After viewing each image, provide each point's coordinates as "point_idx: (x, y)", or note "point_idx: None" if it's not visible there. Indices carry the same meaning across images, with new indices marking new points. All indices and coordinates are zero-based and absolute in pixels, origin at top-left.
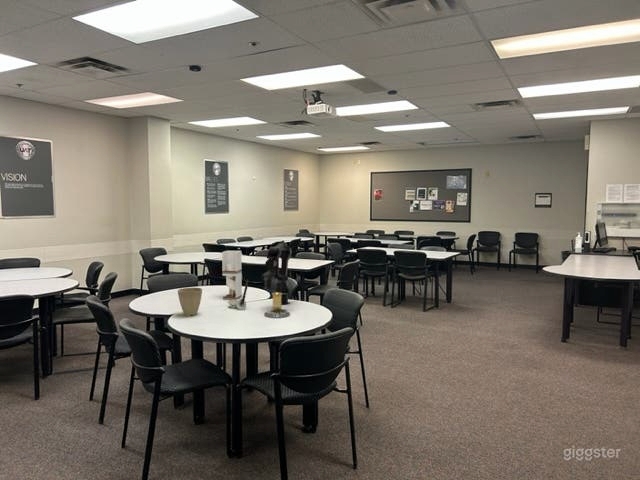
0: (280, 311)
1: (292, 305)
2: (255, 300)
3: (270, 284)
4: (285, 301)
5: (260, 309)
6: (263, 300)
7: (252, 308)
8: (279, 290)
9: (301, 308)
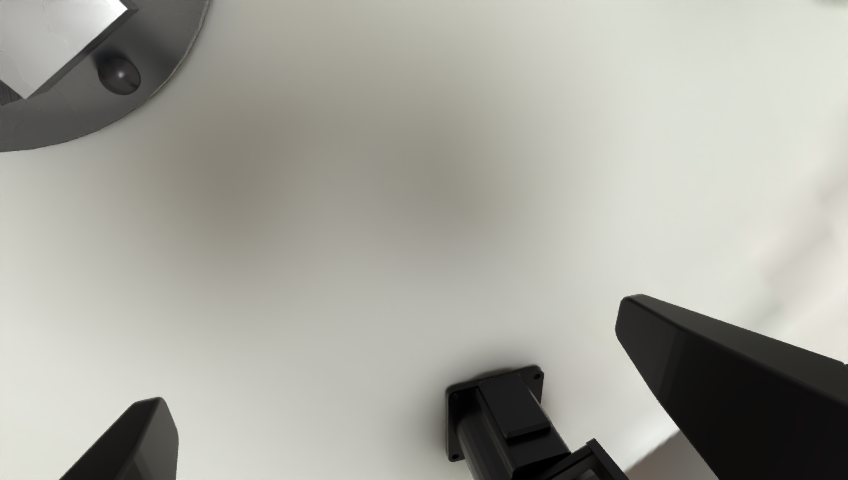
0: None
1: (359, 436)
2: (783, 298)
3: (739, 474)
4: (465, 435)
5: (518, 34)
6: None
7: (647, 2)
8: (127, 414)
9: None
